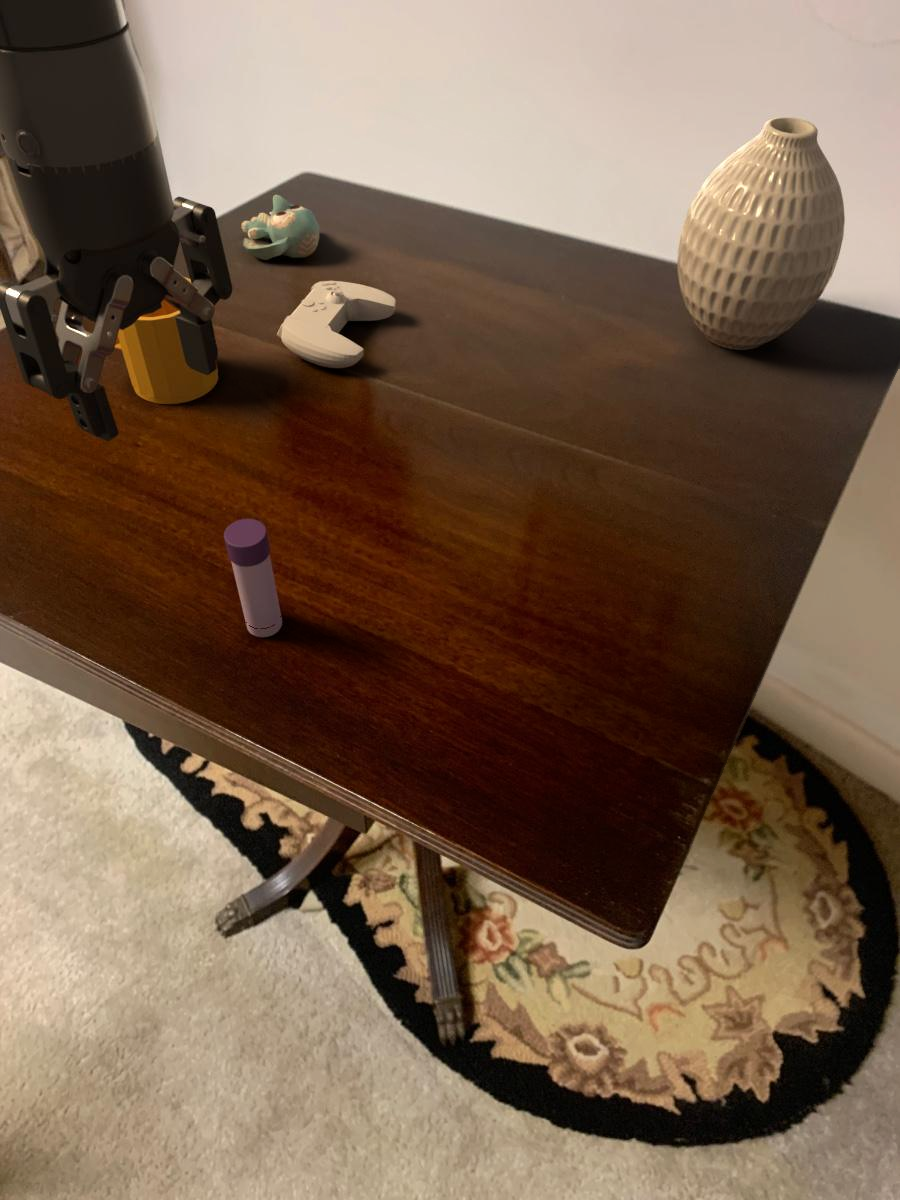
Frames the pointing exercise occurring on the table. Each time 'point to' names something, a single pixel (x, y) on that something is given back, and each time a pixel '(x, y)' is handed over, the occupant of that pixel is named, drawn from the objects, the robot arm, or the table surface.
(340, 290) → the game controller
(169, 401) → the mug
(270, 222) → the green dragon head figurine
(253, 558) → the glue stick
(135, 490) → the table surface
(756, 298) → the vase
